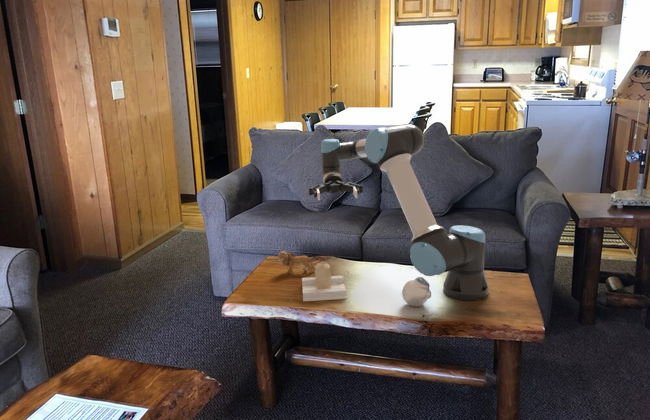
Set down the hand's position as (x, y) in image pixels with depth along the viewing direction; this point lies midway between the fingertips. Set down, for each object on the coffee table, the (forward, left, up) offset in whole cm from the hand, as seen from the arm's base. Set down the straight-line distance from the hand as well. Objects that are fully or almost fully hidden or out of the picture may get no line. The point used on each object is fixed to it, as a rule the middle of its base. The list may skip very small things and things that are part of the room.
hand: (337, 195), depth 194 cm
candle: (+7, +12, -31) cm, 34 cm away
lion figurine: (+16, -8, -32) cm, 37 cm away
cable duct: (+7, +12, -32) cm, 35 cm away
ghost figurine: (-23, +27, -32) cm, 48 cm away
